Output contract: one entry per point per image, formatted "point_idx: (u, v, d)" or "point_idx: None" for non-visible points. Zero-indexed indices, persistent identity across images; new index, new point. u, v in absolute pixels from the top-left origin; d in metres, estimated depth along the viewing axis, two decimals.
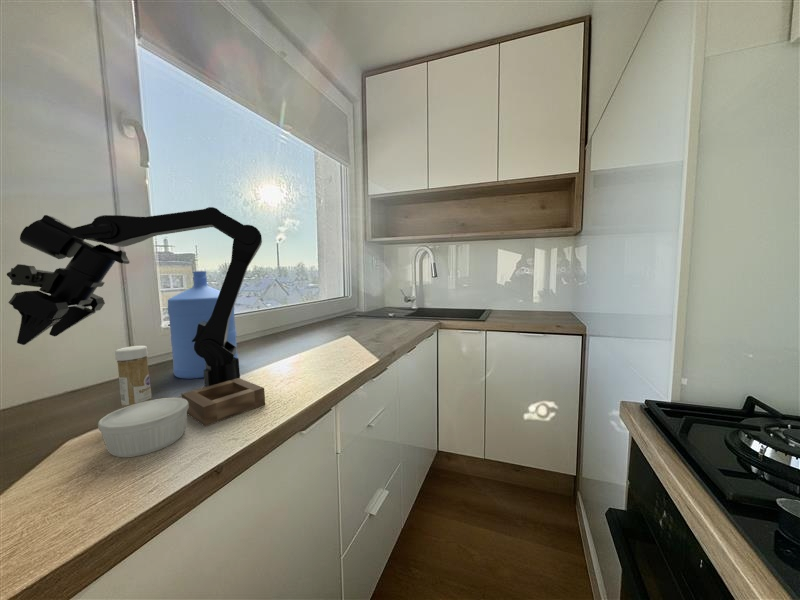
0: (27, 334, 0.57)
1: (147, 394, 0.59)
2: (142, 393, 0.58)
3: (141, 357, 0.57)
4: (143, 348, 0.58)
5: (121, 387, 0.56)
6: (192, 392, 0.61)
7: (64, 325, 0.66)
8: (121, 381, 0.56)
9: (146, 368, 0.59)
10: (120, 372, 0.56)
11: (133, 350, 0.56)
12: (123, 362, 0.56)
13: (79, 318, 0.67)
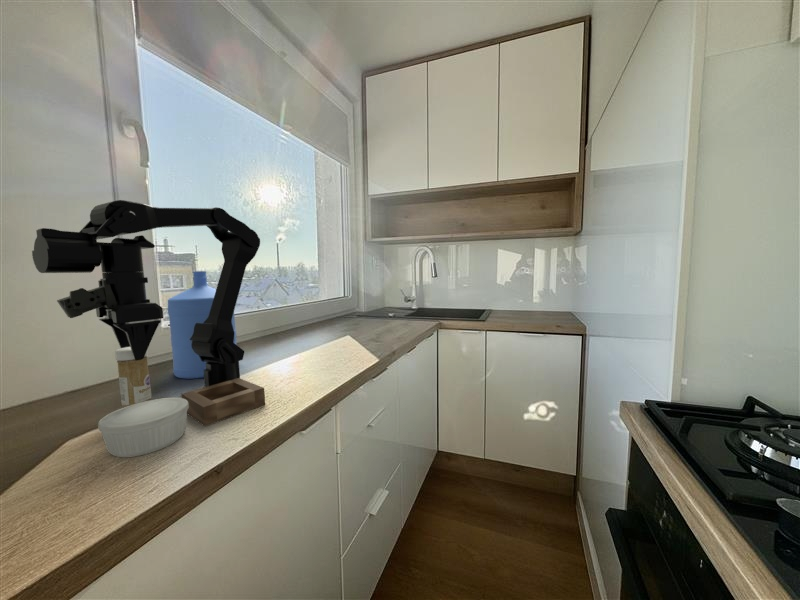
0: (141, 347, 0.55)
1: (147, 394, 0.59)
2: (142, 393, 0.58)
3: None
4: None
5: (121, 387, 0.56)
6: (192, 392, 0.61)
7: None
8: (121, 381, 0.56)
9: (146, 368, 0.59)
10: (120, 372, 0.56)
11: None
12: (123, 362, 0.56)
13: None
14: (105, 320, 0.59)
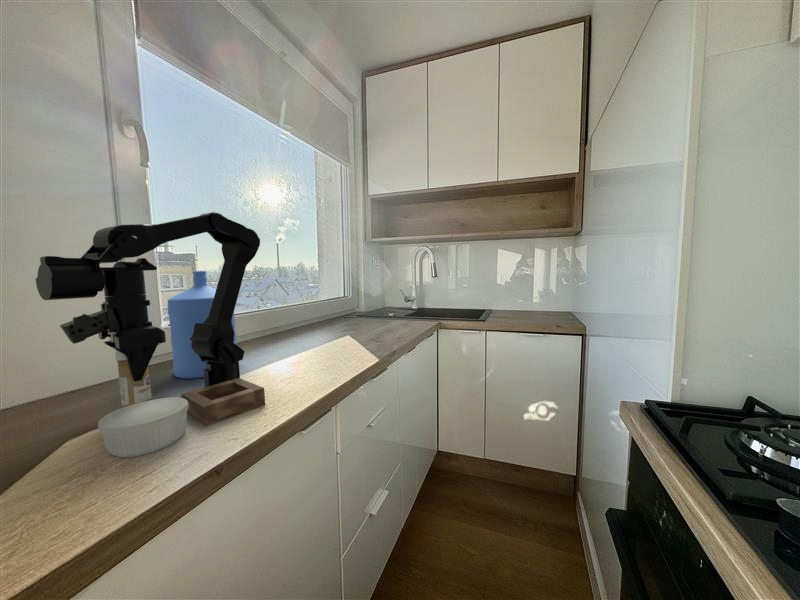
0: (140, 369, 0.56)
1: (147, 394, 0.59)
2: (142, 393, 0.58)
3: None
4: None
5: (121, 387, 0.56)
6: (192, 392, 0.61)
7: None
8: (121, 381, 0.56)
9: None
10: (120, 372, 0.56)
11: None
12: (123, 362, 0.56)
13: None
14: (110, 343, 0.58)
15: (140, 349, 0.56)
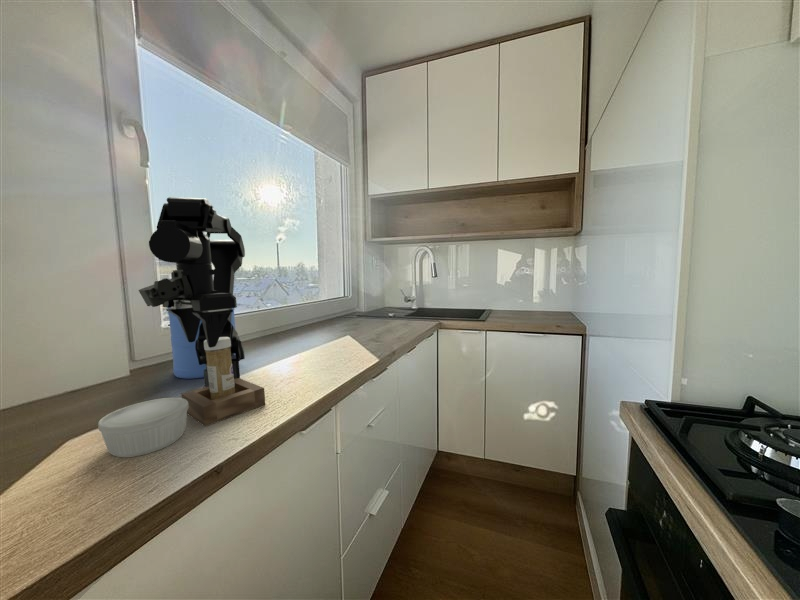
0: (214, 335, 0.58)
1: (232, 382, 0.62)
2: (229, 382, 0.61)
3: (227, 347, 0.61)
4: (228, 338, 0.61)
5: (210, 375, 0.60)
6: (192, 392, 0.61)
7: (194, 328, 0.64)
8: (210, 370, 0.59)
9: (230, 358, 0.62)
10: (209, 361, 0.59)
11: (220, 340, 0.60)
12: (212, 352, 0.59)
13: None
14: (173, 310, 0.62)
15: (215, 316, 0.58)
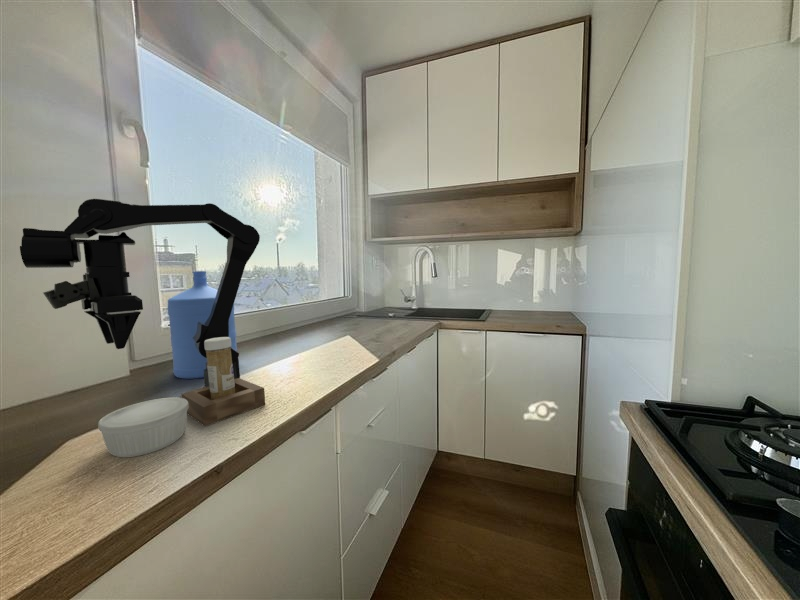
0: (122, 337, 0.59)
1: (232, 382, 0.62)
2: (229, 382, 0.61)
3: (227, 347, 0.61)
4: (228, 339, 0.61)
5: (210, 375, 0.60)
6: (192, 392, 0.61)
7: None
8: (211, 370, 0.59)
9: (231, 358, 0.62)
10: (209, 361, 0.59)
11: (221, 340, 0.60)
12: (213, 352, 0.59)
13: None
14: (90, 312, 0.63)
15: (122, 318, 0.58)
